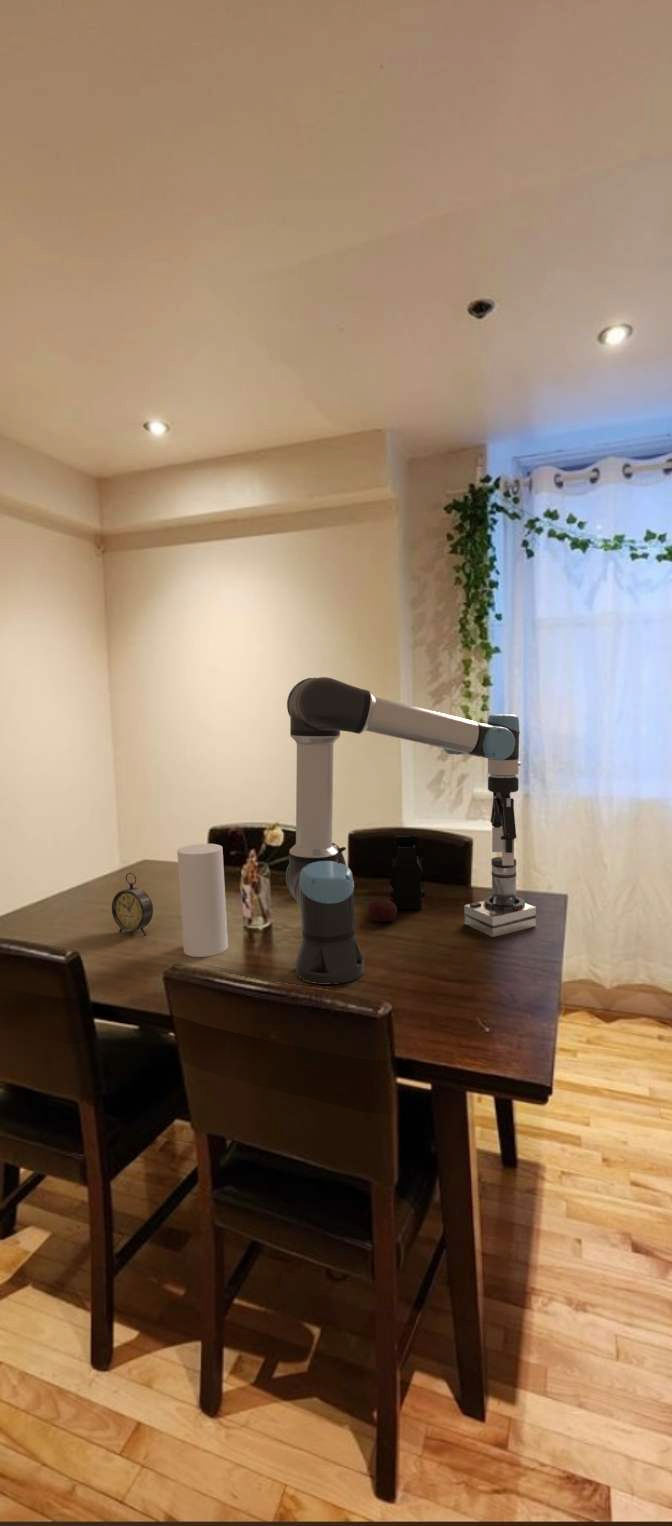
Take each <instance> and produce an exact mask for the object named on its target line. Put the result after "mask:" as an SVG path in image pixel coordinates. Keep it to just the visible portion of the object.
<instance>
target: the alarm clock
mask: <svg viewBox="0 0 672 1526" xmlns="http://www.w3.org/2000/svg"><path fill="white" fill-rule="evenodd" d="M129 875H132V876H133V877H134V879H135V880H134V882H129V881H128V876H129ZM125 880H126V882H127V884H128V885H129V888H127V889H124V890H123V889H122V890H120V891H118V892H116V894H115V896H113V899H112V903H111V913H112V914H111V915H112V918H113V920H114V922H115V924H116V925H117V926H118V927H119V928H120V929H119V931H118V932H119V933H121V932H122V931H124V932H129V933H132V932H133V933H134V932H136V931H138V930H140V932H141V933H142V934H143V936H144V937H146V936H147V933H146V932H145V931H146V930H145V929H144V928H145V927H146V926H148V925H149V924H150V922H151V921H152V919H153V914H154V906H153V902H152V900H151V898H150V896H149V894H148V893H147V892H146V891H145V890H143V889H142V888H139V887H134V885H135V884H136V883H137V877H136V875H135V874H134V873H133V872H128V873H126V875H125Z"/></svg>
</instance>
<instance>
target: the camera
mask: <svg viewBox="0 0 672 1526" xmlns="http://www.w3.org/2000/svg"><path fill="white" fill-rule="evenodd" d="M418 838H419V837H418V835H413V834H412V835H410V834H409V835H394V855H395V856H394V858H392V857H391V858H390V859H391V860H390V861H392V862H391V865H392V866H391V869H392V872H391V873H390V878H389V885H390V886H391V889H392V891H390V899H393V903H394V904H395V905H396V907H397V910H422V899H425V897H426V895H425V891H424V890H423V886H424V883H423V882H422V876H423V866H421V865H422V864H423V862H422V861H423V858H420V856H419V851H418V850H419V849H418V847H419V845H418V843H419V840H418Z"/></svg>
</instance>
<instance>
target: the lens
mask: <svg viewBox="0 0 672 1526" xmlns="http://www.w3.org/2000/svg"><path fill="white" fill-rule="evenodd" d="M490 861H491V864H490V865H491V896H492V903H493V904H497V905H515V904H516V896H517V859H516V858H514V865H502V856H495V857H493V858H492V857H491V859H490Z"/></svg>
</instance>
